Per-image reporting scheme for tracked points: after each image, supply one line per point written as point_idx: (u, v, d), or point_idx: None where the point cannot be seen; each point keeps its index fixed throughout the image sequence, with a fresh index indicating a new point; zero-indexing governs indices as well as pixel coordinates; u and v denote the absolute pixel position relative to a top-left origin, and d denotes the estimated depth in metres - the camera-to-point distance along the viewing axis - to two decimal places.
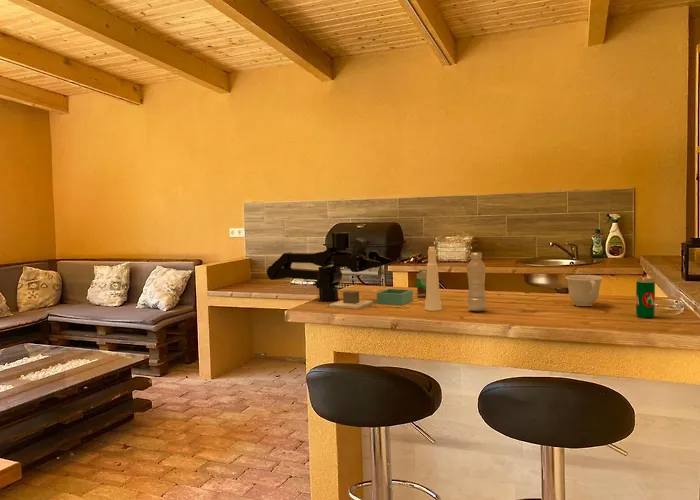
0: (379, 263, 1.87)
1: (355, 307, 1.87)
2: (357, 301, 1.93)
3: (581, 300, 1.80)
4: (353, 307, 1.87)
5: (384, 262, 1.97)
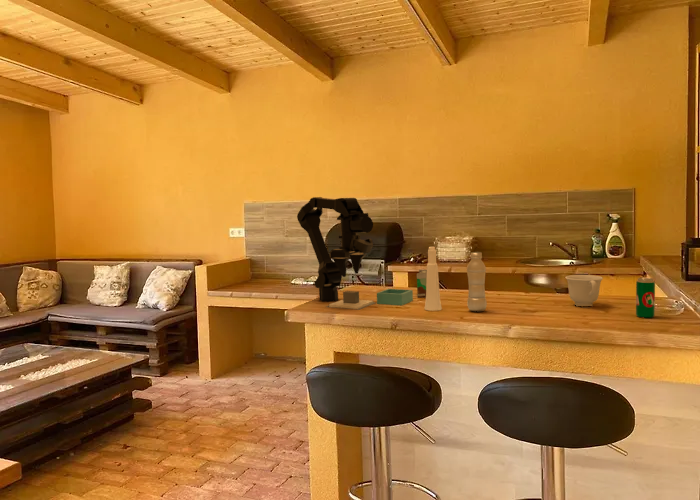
0: (344, 276, 1.89)
1: (355, 307, 1.87)
2: (357, 301, 1.93)
3: (581, 300, 1.80)
4: (353, 307, 1.87)
5: (354, 265, 1.98)
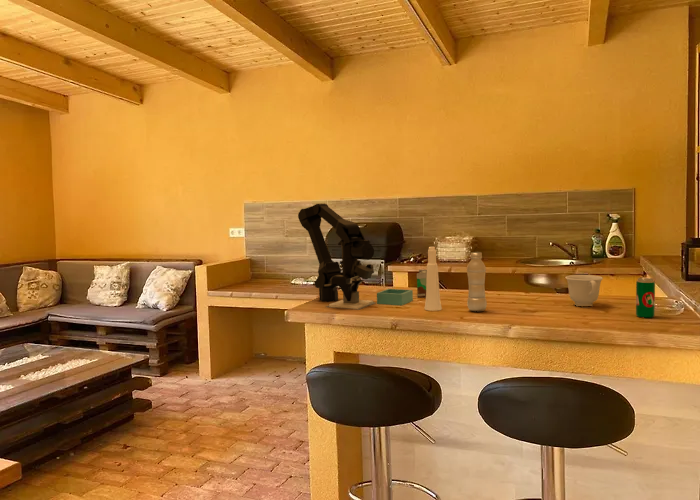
0: (348, 300, 1.93)
1: (355, 307, 1.87)
2: (357, 301, 1.93)
3: (581, 300, 1.80)
4: (353, 307, 1.87)
5: None
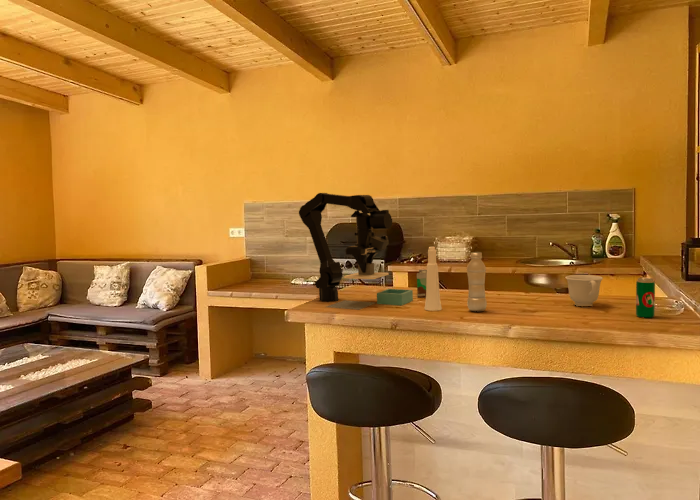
0: (363, 271, 1.92)
1: (370, 277, 1.86)
2: (372, 273, 1.93)
3: (581, 300, 1.80)
4: (368, 278, 1.87)
5: None
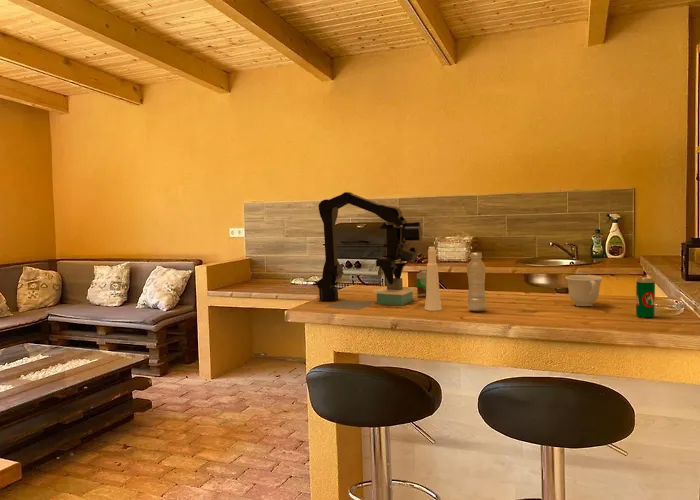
0: (391, 283, 1.93)
1: (400, 293, 1.89)
2: (401, 288, 1.95)
3: (581, 300, 1.80)
4: (398, 293, 1.89)
5: (395, 274, 1.99)
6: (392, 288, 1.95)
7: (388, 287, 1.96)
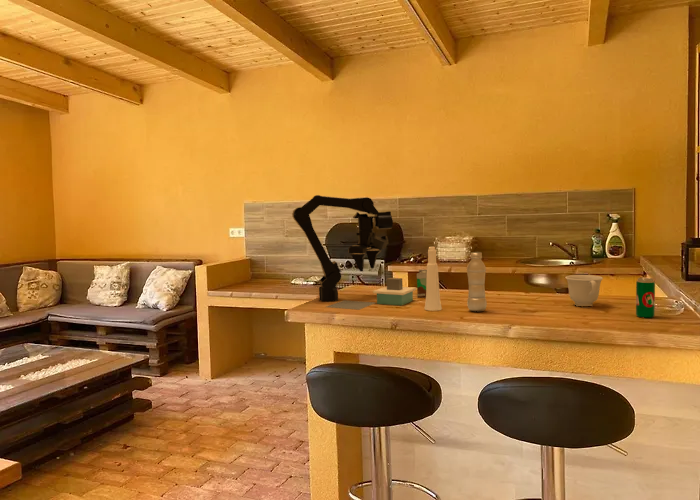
0: (361, 270, 2.03)
1: (400, 293, 1.89)
2: (401, 288, 1.95)
3: (581, 300, 1.80)
4: (398, 293, 1.89)
5: (370, 260, 2.11)
6: (392, 288, 1.95)
7: (388, 287, 1.96)
